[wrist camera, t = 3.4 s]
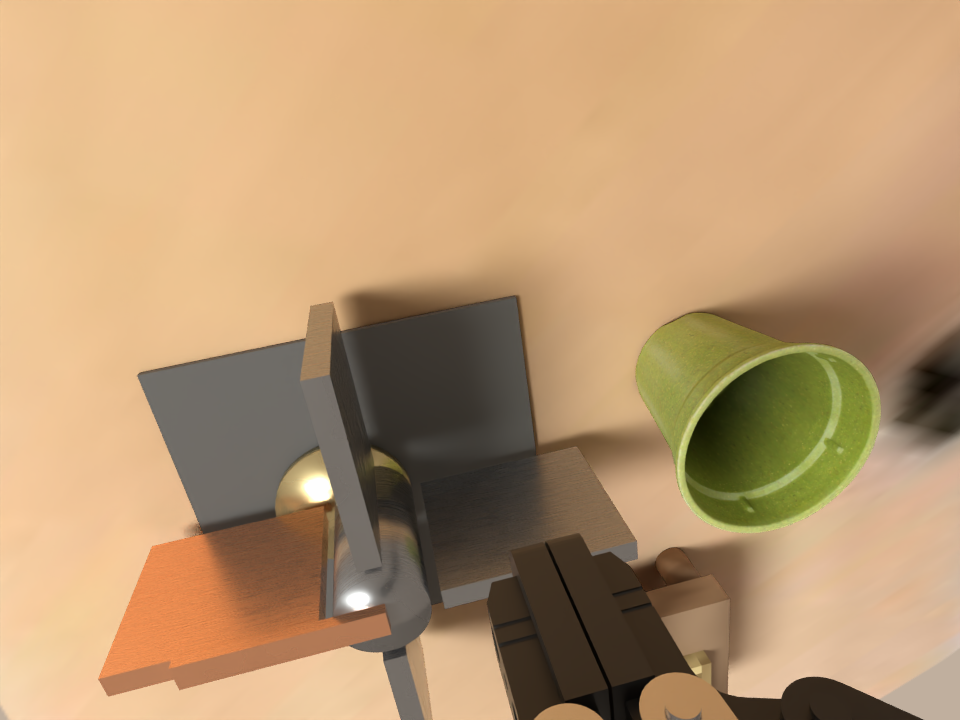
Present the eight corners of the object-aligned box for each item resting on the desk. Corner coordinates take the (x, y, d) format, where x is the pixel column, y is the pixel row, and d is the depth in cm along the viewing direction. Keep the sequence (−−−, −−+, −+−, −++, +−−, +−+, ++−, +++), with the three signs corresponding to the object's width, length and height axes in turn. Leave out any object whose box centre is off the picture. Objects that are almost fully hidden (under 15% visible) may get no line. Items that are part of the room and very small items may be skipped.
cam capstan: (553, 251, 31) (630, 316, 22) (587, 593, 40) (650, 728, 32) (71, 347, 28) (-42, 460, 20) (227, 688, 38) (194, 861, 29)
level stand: (687, 541, 41) (752, 629, 34) (688, 662, 45) (746, 759, 39) (535, 580, 40) (572, 679, 33) (552, 700, 44) (588, 807, 38)
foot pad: (514, 295, 32) (518, 300, 31) (551, 577, 40) (554, 586, 39) (139, 372, 30) (134, 380, 29) (256, 653, 38) (254, 665, 37)
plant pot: (719, 451, 38) (815, 547, 31) (579, 422, 36) (645, 518, 28) (792, 307, 35) (920, 372, 28) (645, 262, 33) (741, 321, 25)
